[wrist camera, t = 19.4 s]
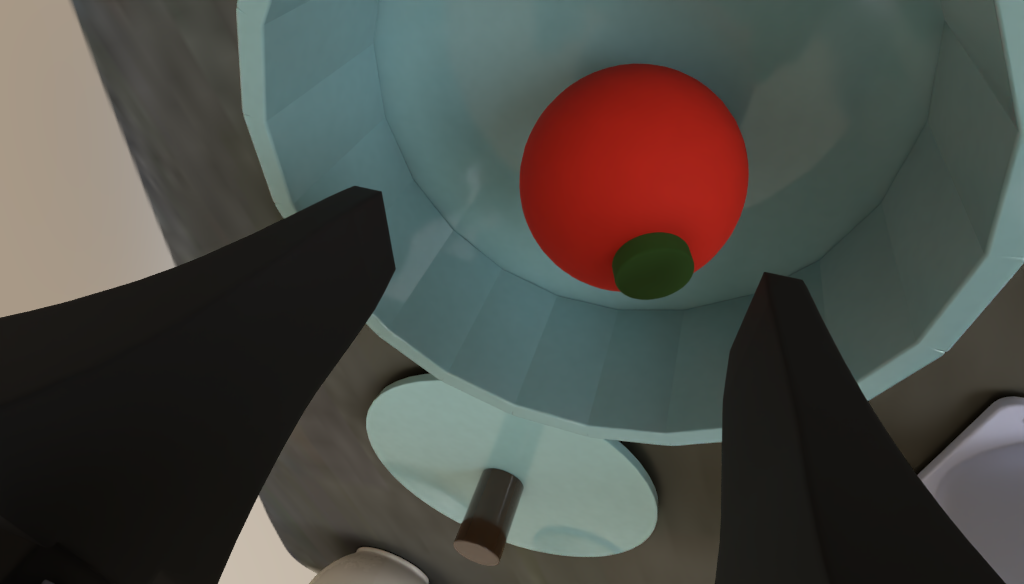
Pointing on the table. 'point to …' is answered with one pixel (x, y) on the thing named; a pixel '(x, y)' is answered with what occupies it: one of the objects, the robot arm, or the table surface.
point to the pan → (757, 235)
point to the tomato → (634, 179)
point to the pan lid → (510, 474)
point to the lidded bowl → (370, 569)
